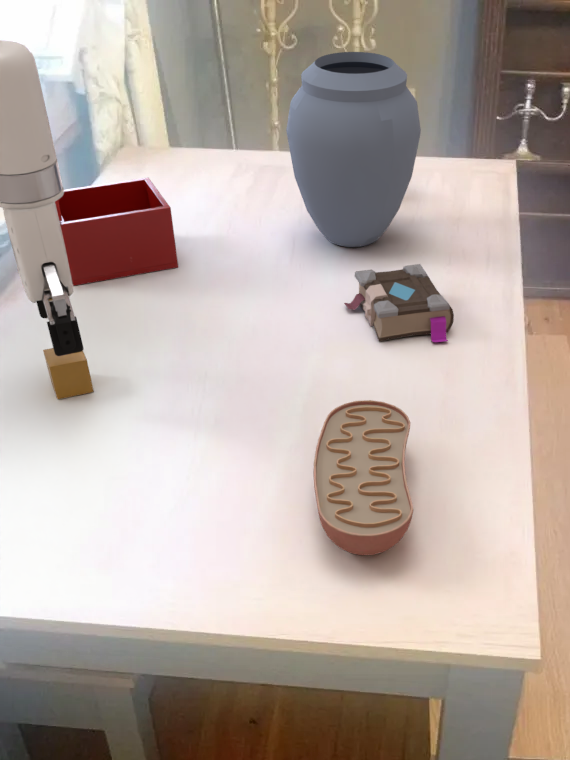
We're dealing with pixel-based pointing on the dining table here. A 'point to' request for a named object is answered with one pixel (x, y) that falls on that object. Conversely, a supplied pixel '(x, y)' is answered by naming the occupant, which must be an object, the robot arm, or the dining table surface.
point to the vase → (353, 144)
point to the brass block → (68, 373)
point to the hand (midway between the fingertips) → (61, 333)
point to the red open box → (116, 230)
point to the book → (402, 304)
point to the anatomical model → (363, 476)
